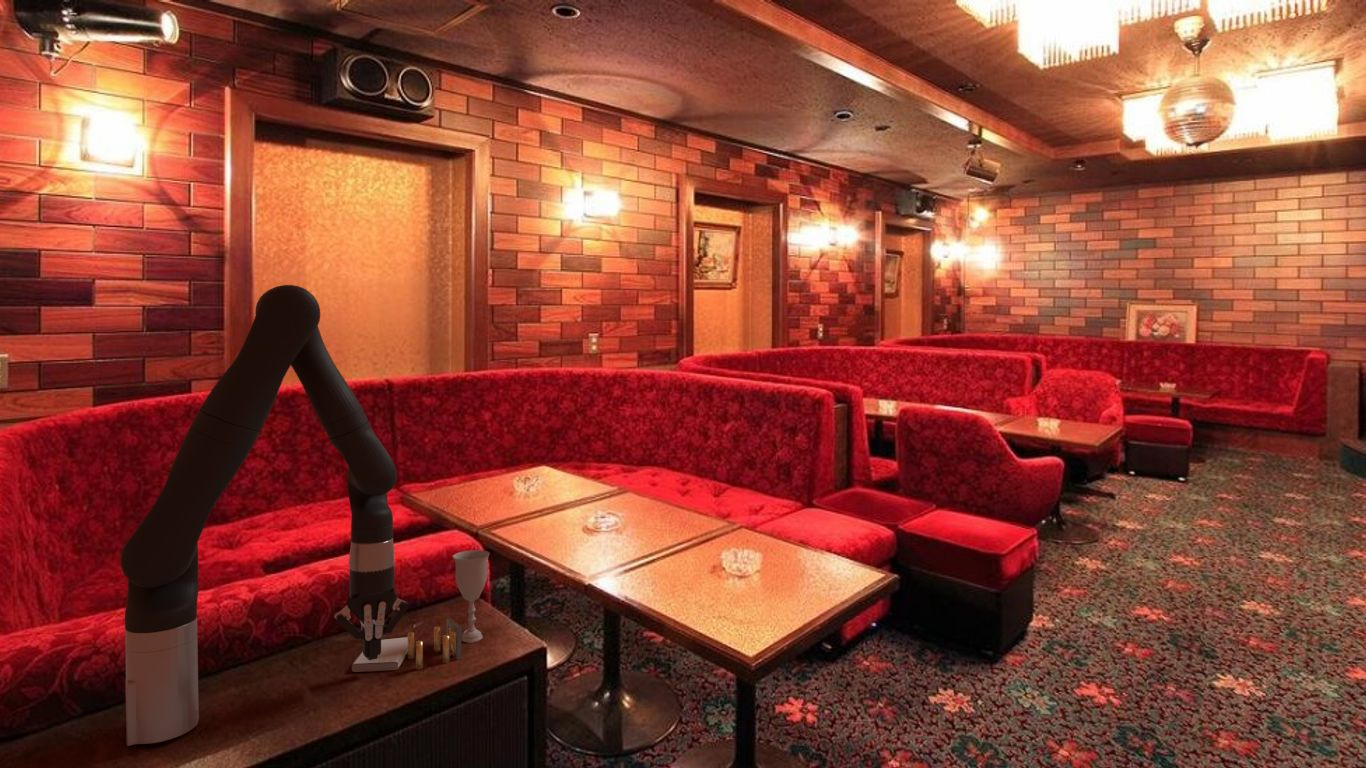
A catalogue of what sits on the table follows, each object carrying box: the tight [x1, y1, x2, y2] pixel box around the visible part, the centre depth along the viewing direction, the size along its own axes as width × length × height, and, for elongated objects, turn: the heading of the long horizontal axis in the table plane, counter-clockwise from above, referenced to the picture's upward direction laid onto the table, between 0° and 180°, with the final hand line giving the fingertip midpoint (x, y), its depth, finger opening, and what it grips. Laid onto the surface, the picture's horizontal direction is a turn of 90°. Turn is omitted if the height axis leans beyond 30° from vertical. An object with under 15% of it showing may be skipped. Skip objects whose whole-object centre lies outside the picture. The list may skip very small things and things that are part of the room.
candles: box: [407, 617, 463, 671], centre depth 137 cm, size 9×6×6 cm
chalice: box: [452, 549, 490, 644], centre depth 145 cm, size 7×7×18 cm
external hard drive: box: [351, 636, 408, 673], centre depth 138 cm, size 2×8×12 cm
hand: (372, 658), depth 131 cm, fingers closed
